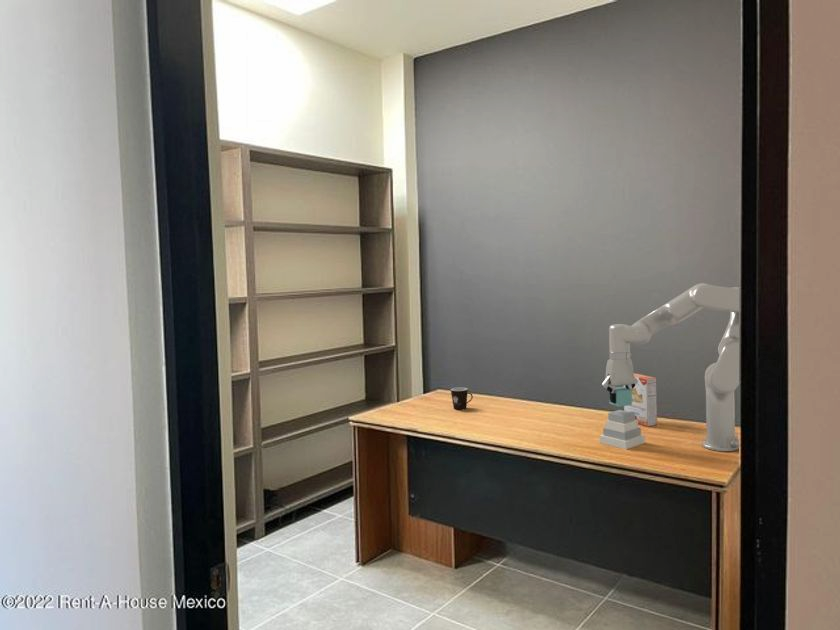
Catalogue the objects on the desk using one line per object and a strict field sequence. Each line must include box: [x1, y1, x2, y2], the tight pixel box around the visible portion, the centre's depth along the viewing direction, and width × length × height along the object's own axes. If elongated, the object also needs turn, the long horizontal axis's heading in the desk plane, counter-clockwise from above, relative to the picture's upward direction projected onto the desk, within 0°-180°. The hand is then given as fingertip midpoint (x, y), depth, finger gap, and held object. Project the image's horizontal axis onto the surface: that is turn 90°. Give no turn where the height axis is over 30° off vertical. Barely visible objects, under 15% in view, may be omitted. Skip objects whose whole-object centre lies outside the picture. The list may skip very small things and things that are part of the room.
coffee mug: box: [450, 386, 474, 411], centre depth 304 cm, size 12×9×10 cm
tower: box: [599, 409, 646, 450], centre depth 236 cm, size 12×12×12 cm
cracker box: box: [623, 372, 658, 428], centre depth 262 cm, size 14×6×21 cm, turn 24°
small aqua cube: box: [608, 386, 632, 408], centre depth 235 cm, size 6×6×6 cm
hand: (620, 401), depth 235 cm, fingers closed on small aqua cube, 6 cm apart
